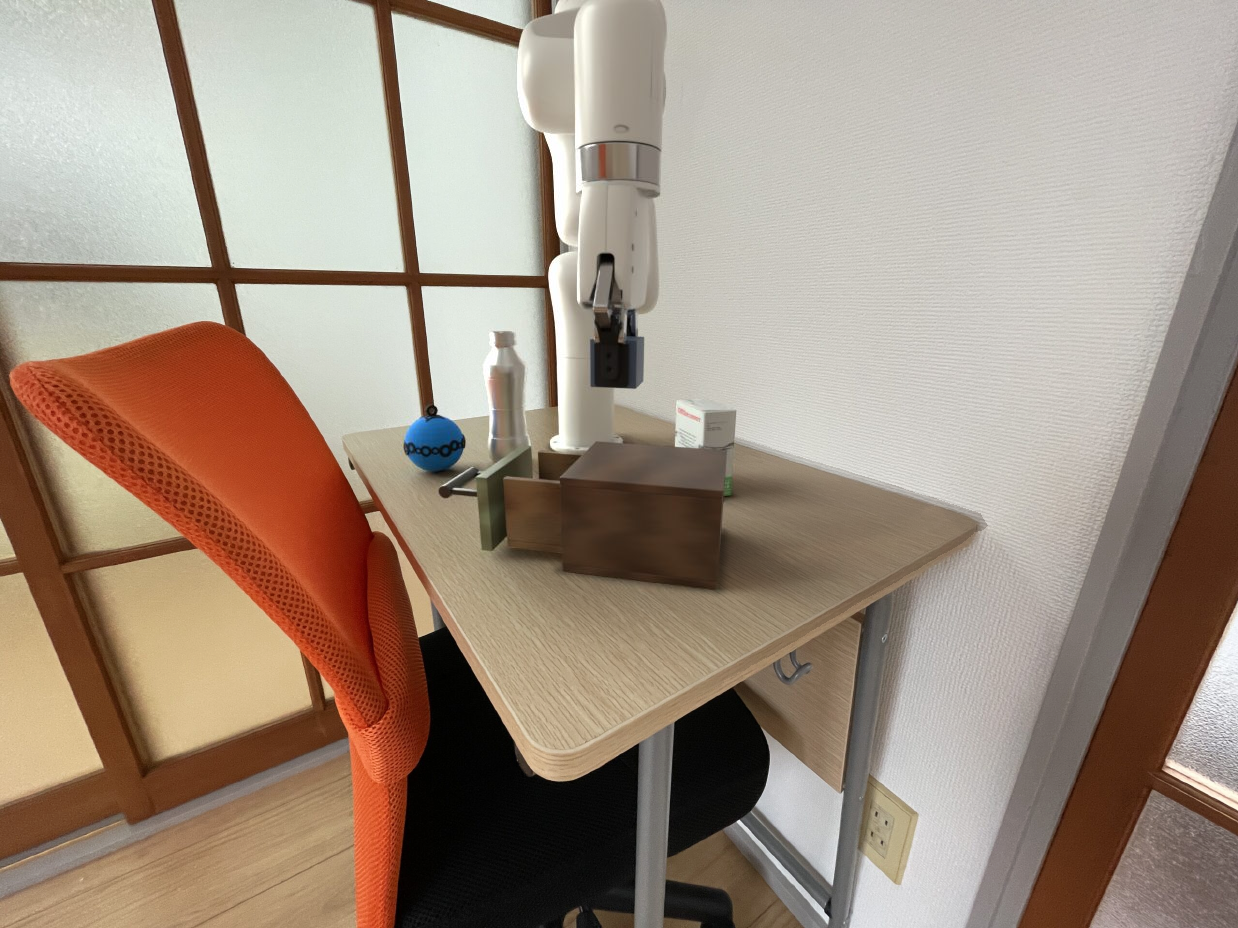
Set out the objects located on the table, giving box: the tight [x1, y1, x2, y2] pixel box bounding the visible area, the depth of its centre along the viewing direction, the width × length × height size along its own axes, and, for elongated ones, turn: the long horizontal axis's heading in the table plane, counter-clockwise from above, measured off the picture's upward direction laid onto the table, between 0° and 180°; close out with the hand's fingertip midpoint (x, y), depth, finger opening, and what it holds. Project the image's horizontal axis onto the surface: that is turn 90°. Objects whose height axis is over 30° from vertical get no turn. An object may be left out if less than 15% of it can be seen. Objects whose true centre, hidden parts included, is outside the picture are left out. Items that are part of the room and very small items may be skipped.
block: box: [590, 336, 645, 390], centre depth 52 cm, size 4×4×4 cm
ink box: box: [674, 398, 737, 497], centre depth 71 cm, size 9×5×12 cm, turn 19°
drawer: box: [438, 445, 584, 554], centre depth 56 cm, size 19×11×8 cm, turn 77°
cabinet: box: [560, 441, 727, 591], centre depth 54 cm, size 15×13×10 cm
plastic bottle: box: [482, 330, 532, 464], centre depth 80 cm, size 6×7×20 cm
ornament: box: [402, 404, 467, 473], centre depth 77 cm, size 9×9×10 cm
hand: (617, 380), depth 52 cm, fingers closed on block, 4 cm apart
